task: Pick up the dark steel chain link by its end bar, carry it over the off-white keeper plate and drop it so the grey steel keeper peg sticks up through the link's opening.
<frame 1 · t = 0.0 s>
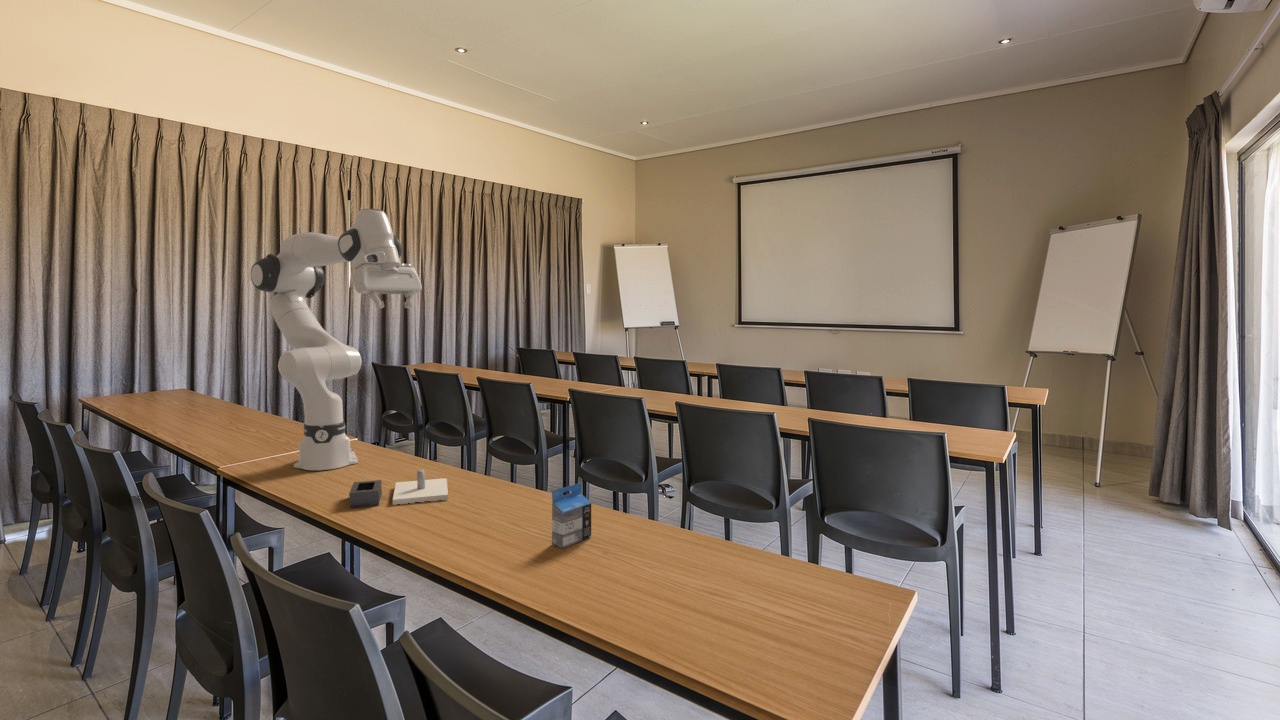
hand: (395, 307, 174), 52 cm above the table, tool tilted 20°, fingers open, 8 cm apart
keeper plate: (421, 493, 170), on the table
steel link: (366, 500, 164), on the table
label tape cartridge: (571, 542, 137), on the table
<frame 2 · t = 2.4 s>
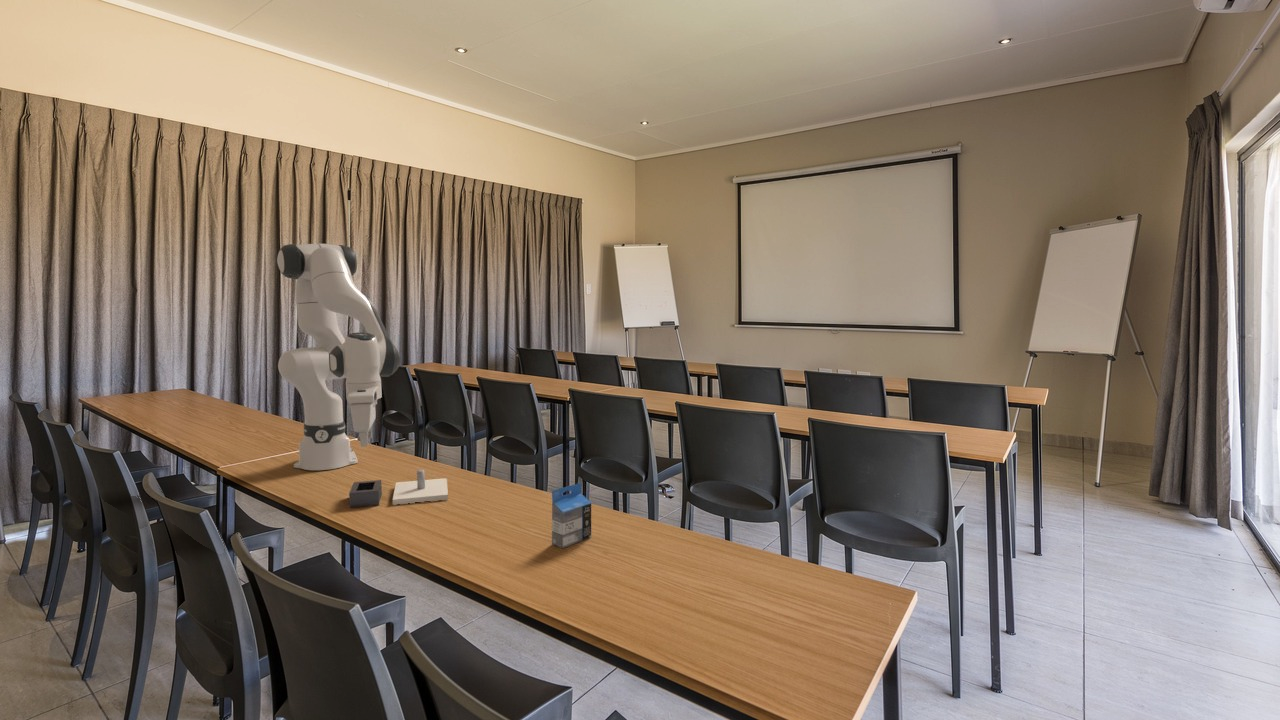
hand: (366, 442, 166), 15 cm above the table, tool pointing down, fingers open, 8 cm apart
nothing on the table moved.
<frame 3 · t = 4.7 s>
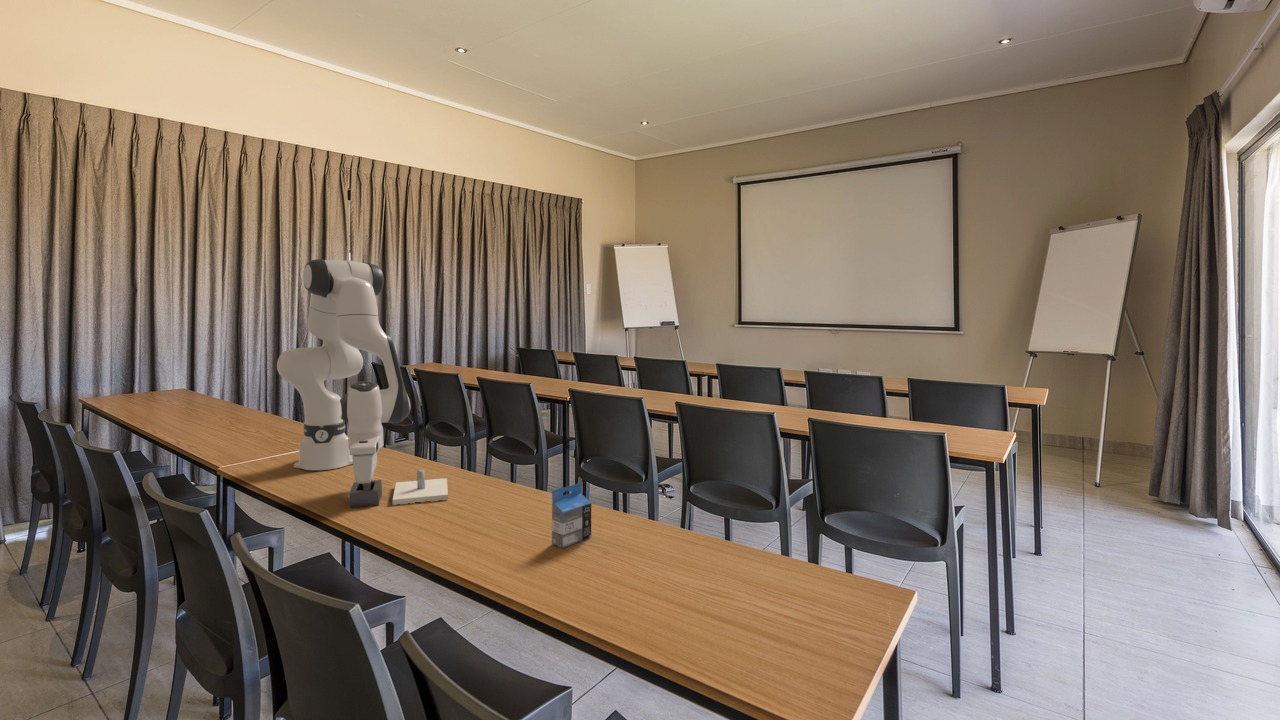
hand: (367, 490, 167), 2 cm above the table, tool pointing down, fingers closed on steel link
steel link: (366, 500, 164), on the table, touching gripper
everything else where it was.
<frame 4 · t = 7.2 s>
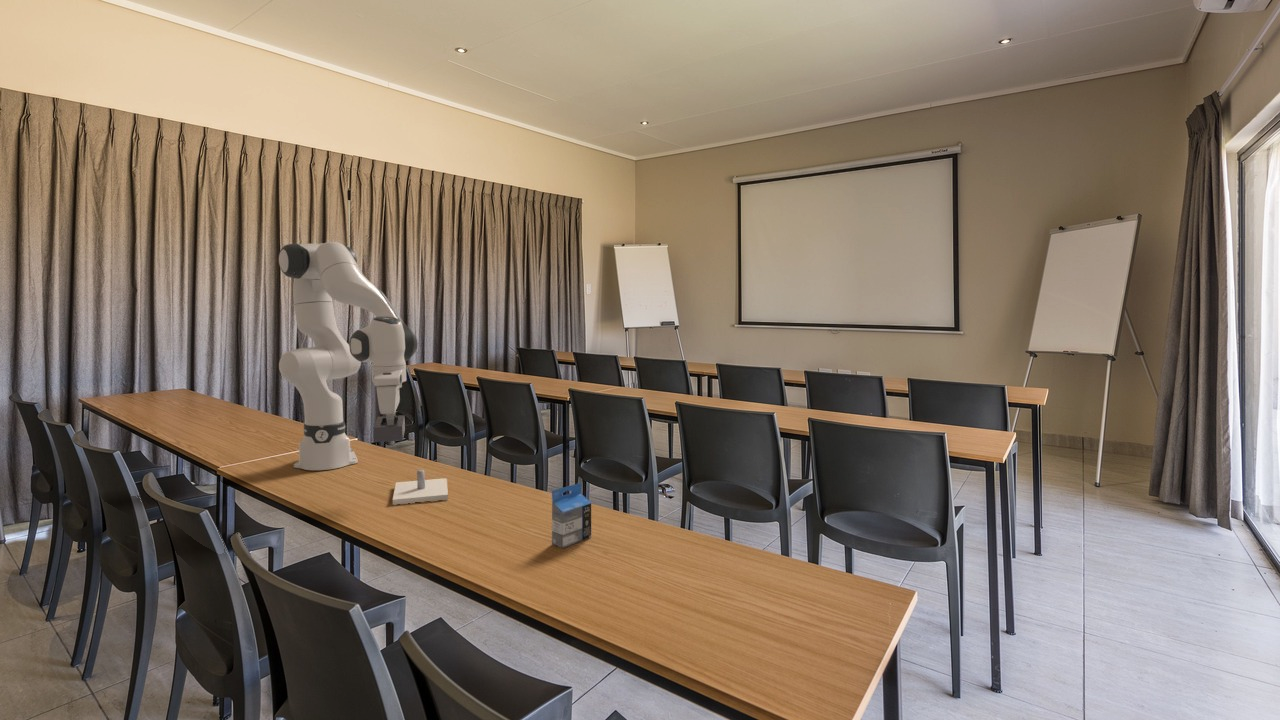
hand: (391, 424, 168), 20 cm above the table, tool pointing down, fingers closed on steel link
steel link: (390, 435, 165), point 17 cm above the table, tilted 6°, touching gripper
everything else where it was.
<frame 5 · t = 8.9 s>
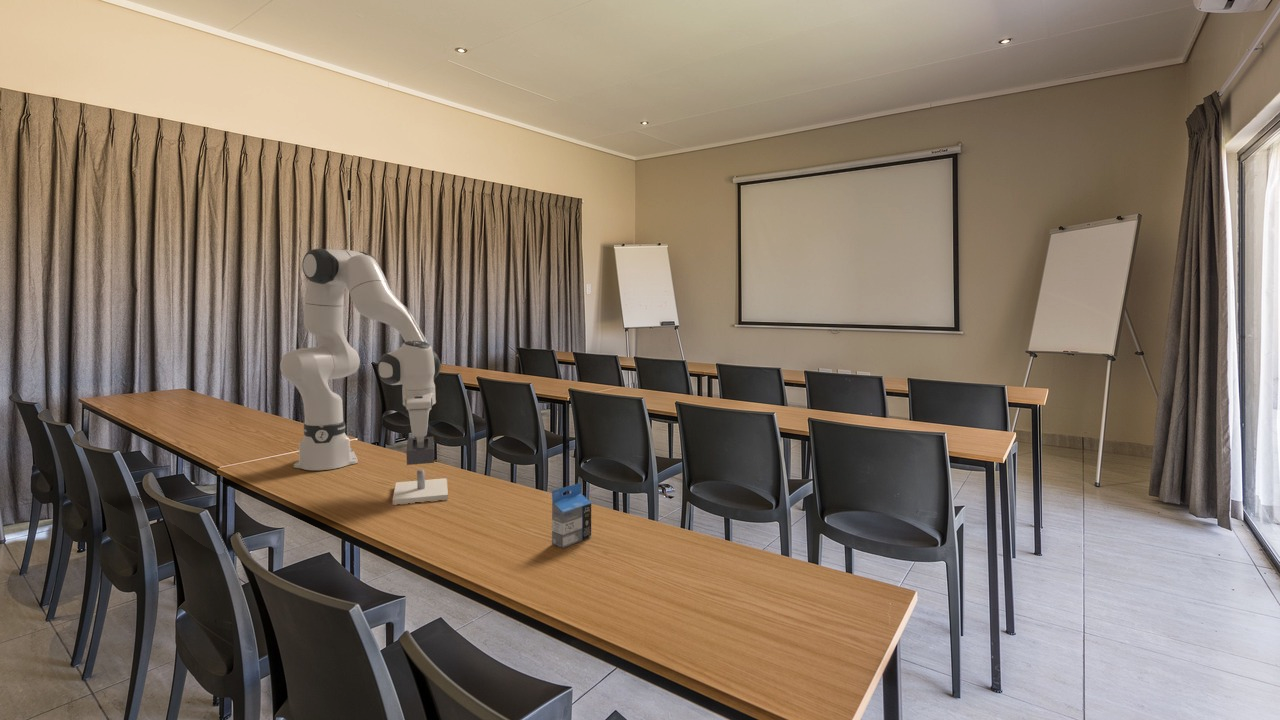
hand: (420, 446, 173), 13 cm above the table, tool pointing down, fingers closed on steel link
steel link: (420, 457, 169), point 10 cm above the table, tilted 8°, touching gripper
everything else where it was.
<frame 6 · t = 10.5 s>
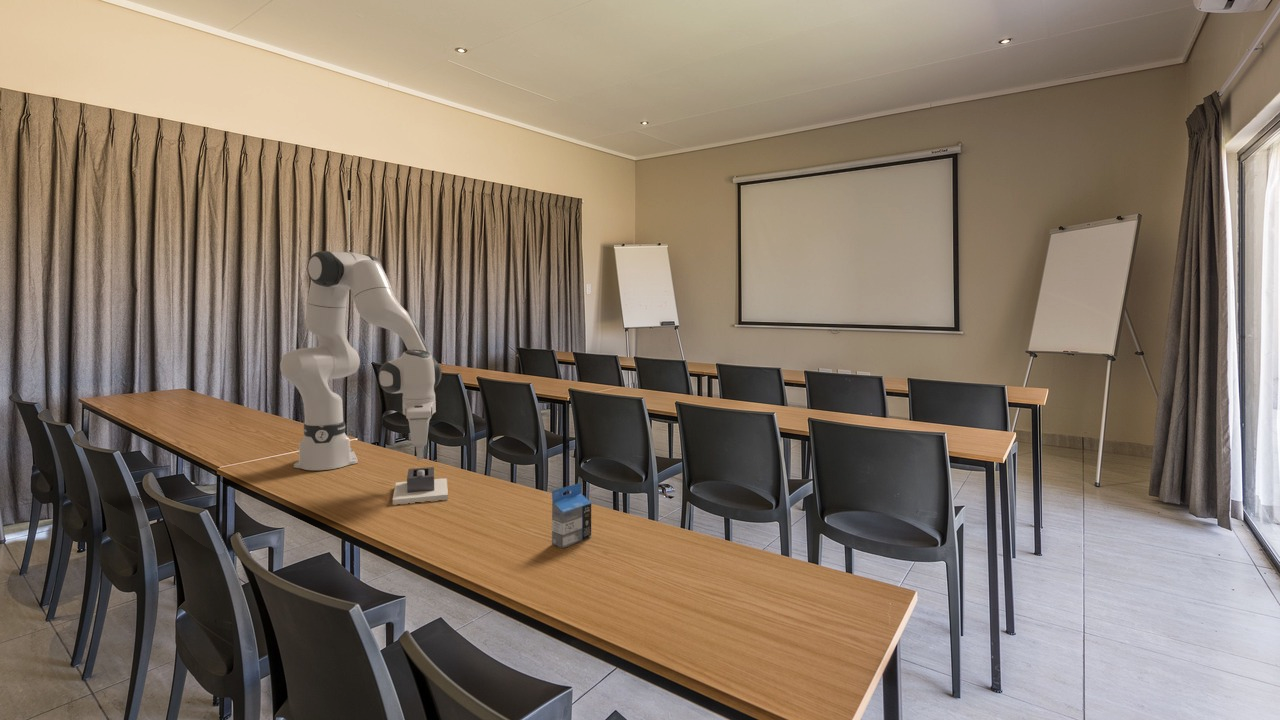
hand: (420, 454, 173), 10 cm above the table, tool pointing down, fingers open, 8 cm apart
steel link: (421, 486, 172), point 1 cm above the table, touching keeper plate
everything else where it was.
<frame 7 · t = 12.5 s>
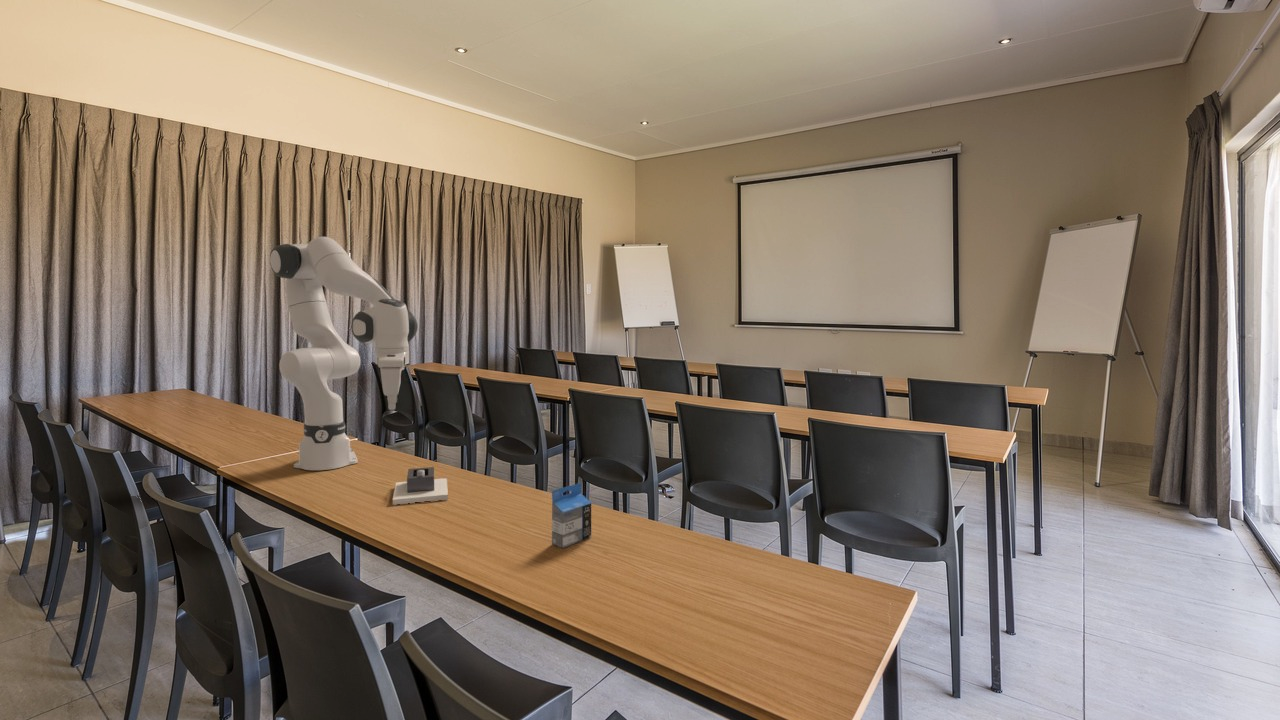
hand: (392, 406, 171), 24 cm above the table, tool pointing down, fingers open, 8 cm apart
nothing on the table moved.
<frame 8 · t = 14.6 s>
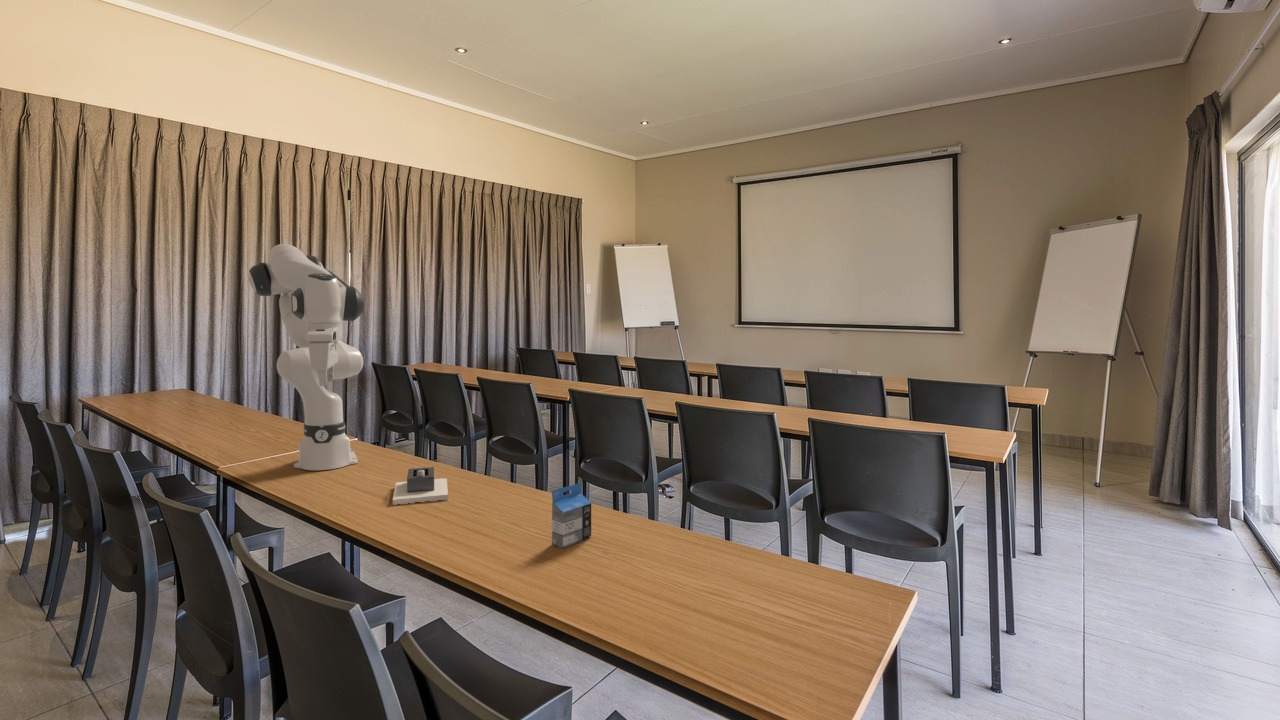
hand: (326, 383, 167), 31 cm above the table, tool pointing down, fingers open, 8 cm apart
nothing on the table moved.
at the end: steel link 1.9 cm off-centre on the keeper plate, point 1.5 cm above the keeper plate's base; the gripper is holding nothing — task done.
